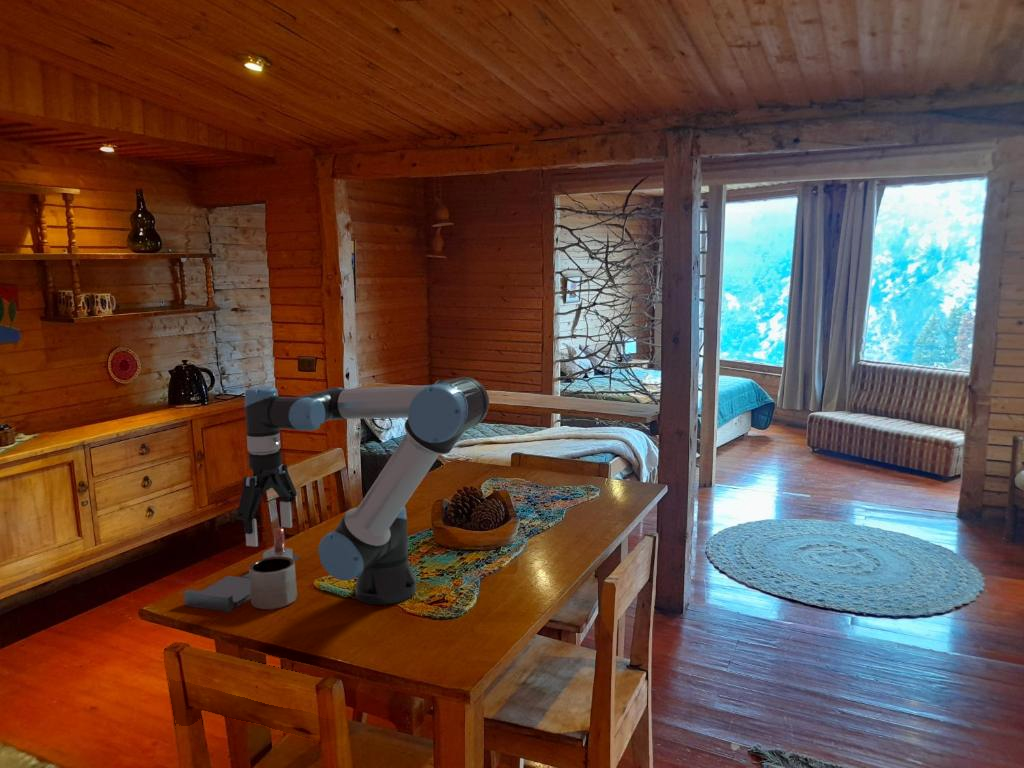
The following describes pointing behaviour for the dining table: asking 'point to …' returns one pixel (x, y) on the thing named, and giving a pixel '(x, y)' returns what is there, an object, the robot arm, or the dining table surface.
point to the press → (222, 593)
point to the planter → (272, 583)
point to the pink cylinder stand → (278, 546)
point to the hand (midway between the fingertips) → (270, 536)
